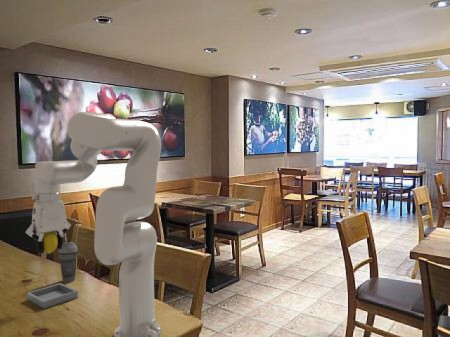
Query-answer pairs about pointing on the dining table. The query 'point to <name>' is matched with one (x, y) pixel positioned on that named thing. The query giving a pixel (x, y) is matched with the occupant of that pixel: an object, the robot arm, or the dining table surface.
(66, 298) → the tray
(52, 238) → the lemon
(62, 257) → the beverage cup
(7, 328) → the dining table surface
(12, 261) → the dining table surface
